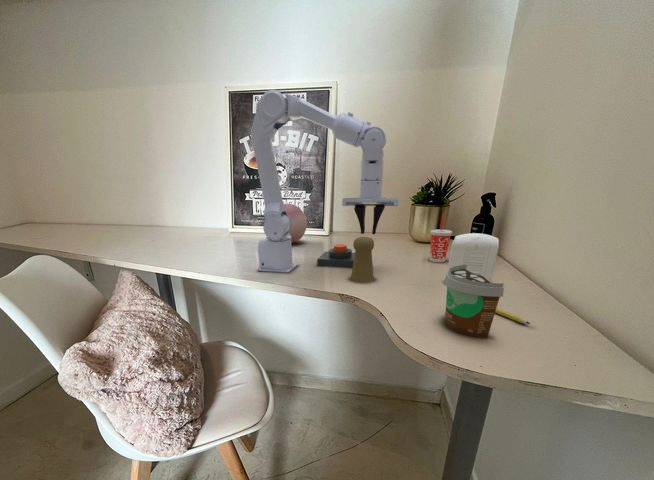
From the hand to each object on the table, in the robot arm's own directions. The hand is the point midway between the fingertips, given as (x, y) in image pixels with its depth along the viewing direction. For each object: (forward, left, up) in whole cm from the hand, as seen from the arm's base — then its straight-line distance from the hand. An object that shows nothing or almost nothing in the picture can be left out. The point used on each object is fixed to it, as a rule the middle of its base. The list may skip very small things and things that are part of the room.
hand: (368, 233), depth 92 cm
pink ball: (-35, +31, -11) cm, 48 cm away
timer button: (-9, +6, -7) cm, 13 cm away
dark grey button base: (-9, +6, -10) cm, 15 cm away
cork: (0, -9, -11) cm, 14 cm away
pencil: (+29, -25, -10) cm, 40 cm away
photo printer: (+26, -7, -11) cm, 29 cm away
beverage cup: (+20, +15, -11) cm, 27 cm away
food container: (+21, -33, -11) cm, 41 cm away
